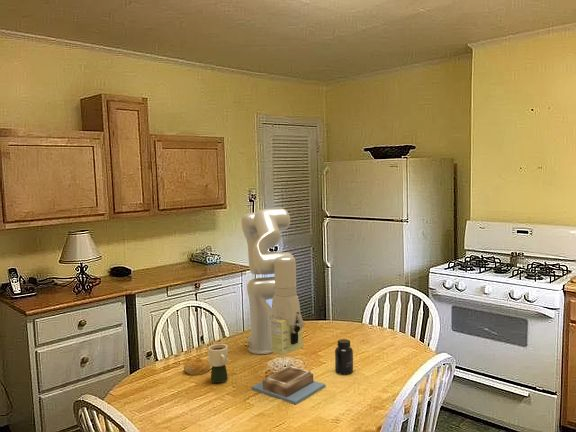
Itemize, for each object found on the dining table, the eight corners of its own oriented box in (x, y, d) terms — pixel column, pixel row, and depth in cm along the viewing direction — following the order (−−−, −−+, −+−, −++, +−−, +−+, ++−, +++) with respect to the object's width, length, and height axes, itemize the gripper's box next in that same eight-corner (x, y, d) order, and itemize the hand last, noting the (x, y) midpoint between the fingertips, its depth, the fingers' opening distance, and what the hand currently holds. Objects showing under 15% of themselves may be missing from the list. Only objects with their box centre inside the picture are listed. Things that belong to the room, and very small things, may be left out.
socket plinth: (262, 389, 175) (262, 378, 175) (289, 375, 187) (289, 364, 186) (287, 397, 168) (286, 385, 168) (313, 382, 180) (313, 371, 180)
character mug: (234, 383, 183) (232, 349, 182) (216, 388, 179) (214, 353, 178) (222, 374, 192) (220, 341, 191) (204, 378, 188) (203, 344, 187)
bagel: (216, 369, 197) (216, 357, 197) (194, 378, 189) (194, 366, 189) (200, 364, 204) (200, 352, 204) (178, 372, 196) (178, 361, 195)
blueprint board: (251, 389, 177) (251, 386, 177) (282, 374, 190) (282, 371, 190) (296, 404, 165) (295, 401, 165) (325, 386, 178) (325, 384, 178)
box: (292, 344, 182) (291, 312, 181) (303, 347, 178) (302, 315, 177) (271, 352, 175) (269, 319, 174) (282, 355, 171) (281, 322, 170)
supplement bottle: (352, 375, 187) (352, 344, 186) (334, 374, 189) (333, 343, 188) (353, 368, 194) (353, 338, 193) (336, 367, 195) (335, 337, 194)
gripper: (260, 290, 177) (261, 340, 179) (298, 296, 166) (300, 349, 168) (273, 286, 183) (275, 334, 184) (312, 292, 172) (313, 343, 174)
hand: (287, 341), depth 176 cm, fingers closed on box, 6 cm apart
